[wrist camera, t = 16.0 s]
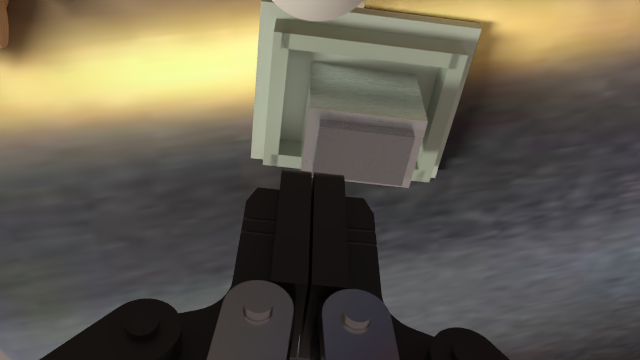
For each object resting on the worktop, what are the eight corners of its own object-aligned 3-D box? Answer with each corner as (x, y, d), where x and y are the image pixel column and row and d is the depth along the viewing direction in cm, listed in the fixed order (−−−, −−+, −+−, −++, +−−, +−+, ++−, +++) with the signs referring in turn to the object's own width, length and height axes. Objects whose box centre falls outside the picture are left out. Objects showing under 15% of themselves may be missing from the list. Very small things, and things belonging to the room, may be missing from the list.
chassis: (433, 169, 44) (439, 194, 42) (252, 150, 44) (247, 174, 41) (478, 22, 37) (489, 42, 35) (262, -5, 36) (258, 13, 34)
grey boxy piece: (399, 135, 41) (410, 195, 36) (302, 124, 41) (299, 183, 36) (415, 73, 38) (429, 129, 33) (311, 60, 38) (308, 114, 32)
